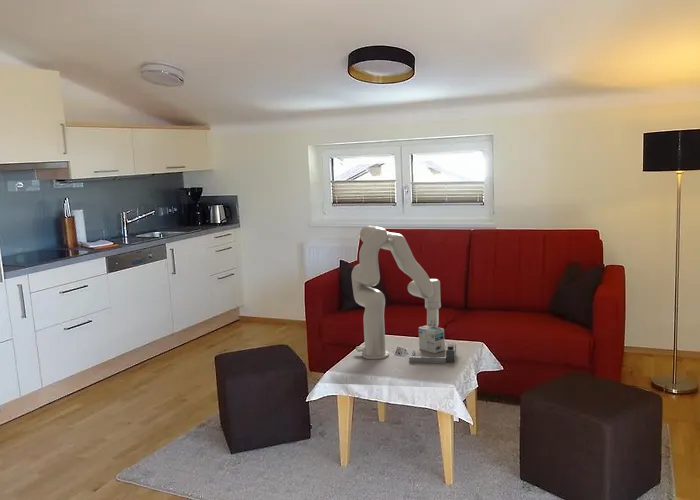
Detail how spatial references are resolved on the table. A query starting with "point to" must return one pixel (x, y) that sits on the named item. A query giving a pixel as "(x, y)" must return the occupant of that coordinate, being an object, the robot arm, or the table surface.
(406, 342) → the table surface
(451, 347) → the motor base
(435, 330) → the light bulb box
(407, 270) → the robot arm
